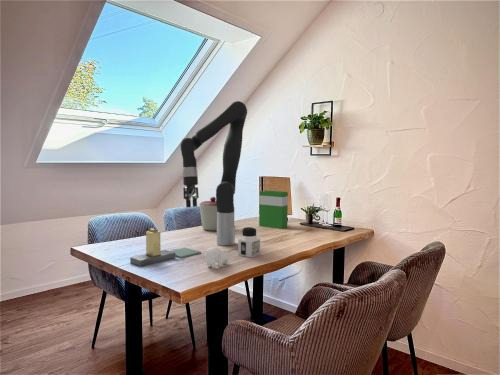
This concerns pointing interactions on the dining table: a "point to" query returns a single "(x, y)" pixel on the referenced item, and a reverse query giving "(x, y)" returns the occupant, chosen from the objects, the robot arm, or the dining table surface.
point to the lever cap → (153, 243)
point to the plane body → (152, 258)
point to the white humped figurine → (215, 257)
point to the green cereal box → (273, 209)
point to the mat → (185, 252)
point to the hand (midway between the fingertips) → (191, 206)
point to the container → (249, 243)
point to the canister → (209, 214)
